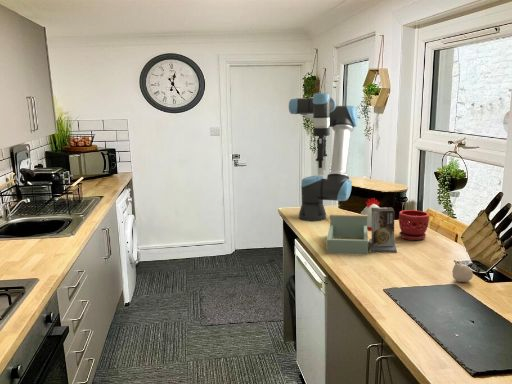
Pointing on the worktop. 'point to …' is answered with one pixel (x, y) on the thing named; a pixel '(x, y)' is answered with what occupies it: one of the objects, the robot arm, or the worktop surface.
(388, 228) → the coffee box
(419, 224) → the plant pot
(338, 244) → the green drawer
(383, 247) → the rubber mat
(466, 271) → the garlic bulb
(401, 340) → the worktop surface
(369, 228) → the kitchen timer
